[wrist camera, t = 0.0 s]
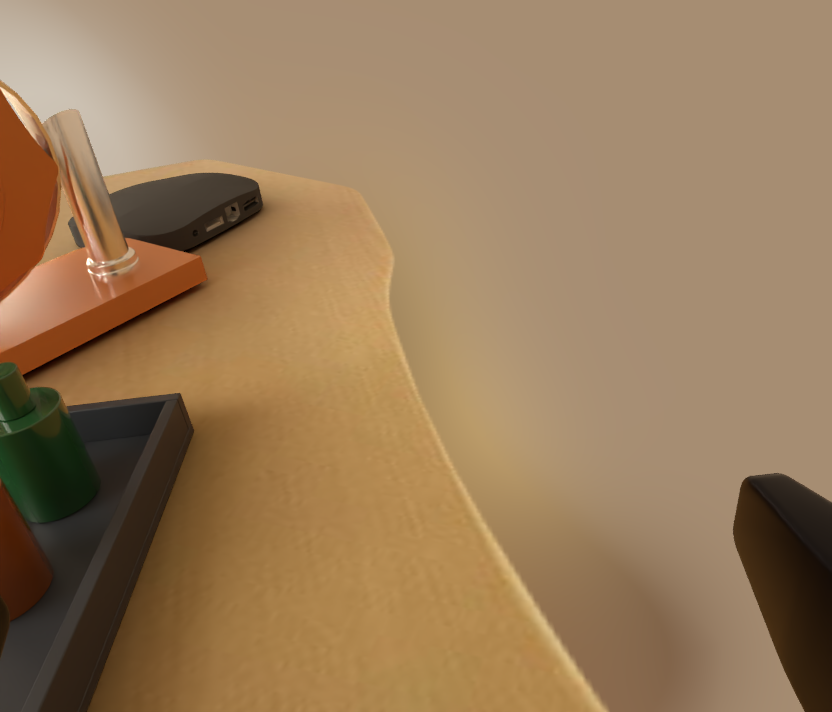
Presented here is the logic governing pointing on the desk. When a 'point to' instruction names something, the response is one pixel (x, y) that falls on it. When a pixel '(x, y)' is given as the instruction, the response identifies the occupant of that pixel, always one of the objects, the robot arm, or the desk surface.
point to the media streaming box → (182, 208)
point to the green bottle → (42, 451)
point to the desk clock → (78, 270)
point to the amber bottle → (20, 559)
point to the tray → (95, 554)
